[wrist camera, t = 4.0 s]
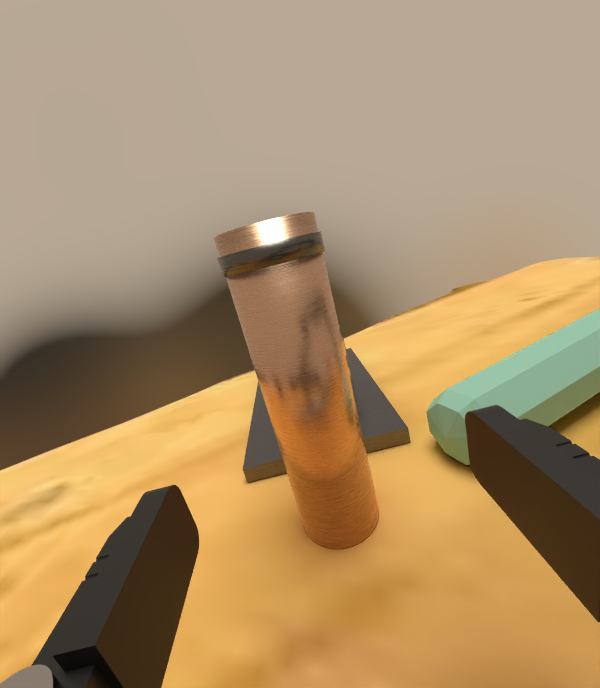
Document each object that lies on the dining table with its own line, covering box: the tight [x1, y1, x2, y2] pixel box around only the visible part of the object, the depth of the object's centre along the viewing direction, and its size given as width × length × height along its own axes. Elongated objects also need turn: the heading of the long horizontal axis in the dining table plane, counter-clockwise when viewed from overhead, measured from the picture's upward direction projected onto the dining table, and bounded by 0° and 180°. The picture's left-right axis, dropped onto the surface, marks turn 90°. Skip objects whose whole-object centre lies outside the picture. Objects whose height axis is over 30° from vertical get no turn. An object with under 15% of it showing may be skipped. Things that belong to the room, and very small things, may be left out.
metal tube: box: [214, 212, 379, 549], centre depth 16 cm, size 5×5×16 cm
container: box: [427, 309, 600, 465], centre depth 23 cm, size 6×6×25 cm
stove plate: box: [243, 336, 410, 482], centre depth 31 cm, size 12×19×6 cm, turn 3°
